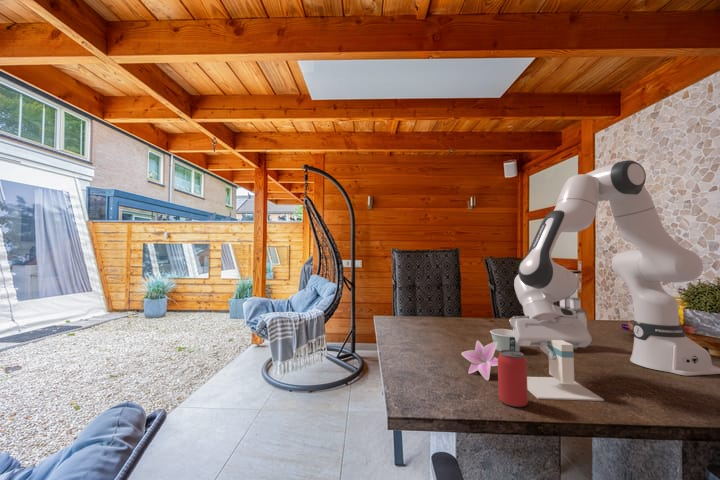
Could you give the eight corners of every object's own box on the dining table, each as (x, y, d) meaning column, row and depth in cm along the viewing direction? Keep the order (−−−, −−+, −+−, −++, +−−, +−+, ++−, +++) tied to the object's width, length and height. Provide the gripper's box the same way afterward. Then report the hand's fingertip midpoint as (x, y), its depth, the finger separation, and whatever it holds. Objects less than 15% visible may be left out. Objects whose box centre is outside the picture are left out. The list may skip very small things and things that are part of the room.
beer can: (527, 410, 72) (525, 358, 73) (496, 403, 75) (495, 354, 76) (528, 399, 77) (527, 351, 78) (500, 393, 81) (499, 347, 82)
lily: (459, 369, 102) (453, 347, 99) (489, 353, 104) (484, 331, 101) (482, 395, 91) (476, 371, 88) (515, 377, 93) (510, 353, 90)
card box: (560, 374, 88) (558, 338, 88) (574, 383, 81) (573, 345, 82) (549, 373, 88) (547, 338, 88) (562, 383, 81) (561, 344, 82)
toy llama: (535, 345, 126) (533, 296, 127) (571, 343, 129) (569, 295, 130) (549, 351, 118) (547, 299, 120) (587, 348, 122) (585, 297, 123)
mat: (569, 379, 91) (569, 377, 91) (603, 400, 77) (603, 399, 77) (513, 377, 92) (513, 376, 92) (537, 399, 78) (537, 397, 78)
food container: (486, 344, 128) (486, 328, 128) (516, 345, 126) (516, 329, 127) (496, 353, 116) (495, 335, 116) (529, 354, 115) (528, 336, 115)
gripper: (510, 309, 93) (526, 352, 83) (580, 311, 92) (606, 354, 81) (504, 321, 97) (519, 363, 87) (571, 323, 96) (594, 365, 86)
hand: (562, 359), depth 84 cm, fingers closed on card box, 3 cm apart
